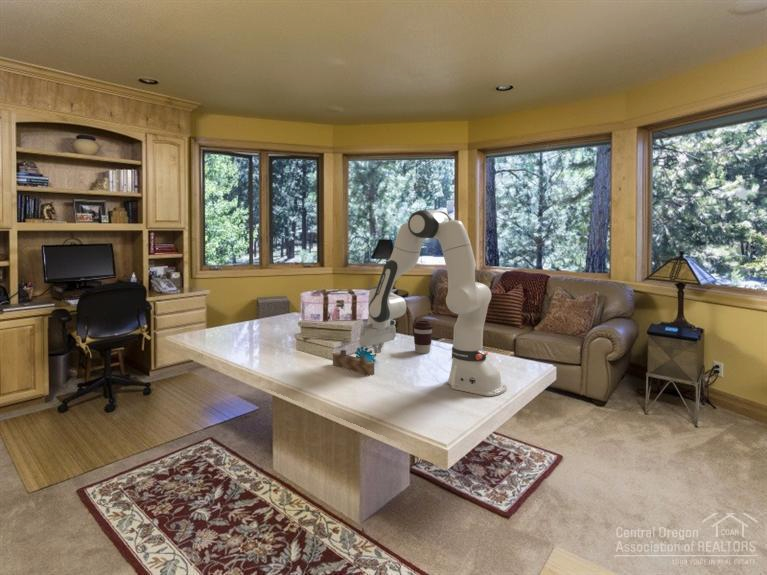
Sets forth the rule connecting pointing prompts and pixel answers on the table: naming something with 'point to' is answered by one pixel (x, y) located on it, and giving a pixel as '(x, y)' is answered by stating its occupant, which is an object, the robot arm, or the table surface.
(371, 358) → the gear
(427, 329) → the coffee cup
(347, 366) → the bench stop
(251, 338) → the table surface
